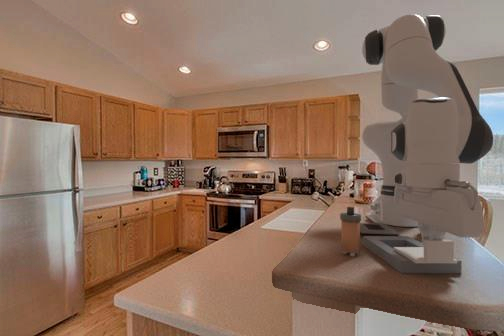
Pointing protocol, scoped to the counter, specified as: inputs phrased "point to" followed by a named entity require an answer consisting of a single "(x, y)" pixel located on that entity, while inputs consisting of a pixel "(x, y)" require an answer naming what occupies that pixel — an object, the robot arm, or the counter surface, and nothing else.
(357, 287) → the counter surface
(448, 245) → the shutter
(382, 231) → the electrical outlet
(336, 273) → the counter surface
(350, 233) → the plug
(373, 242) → the socket block
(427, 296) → the counter surface
